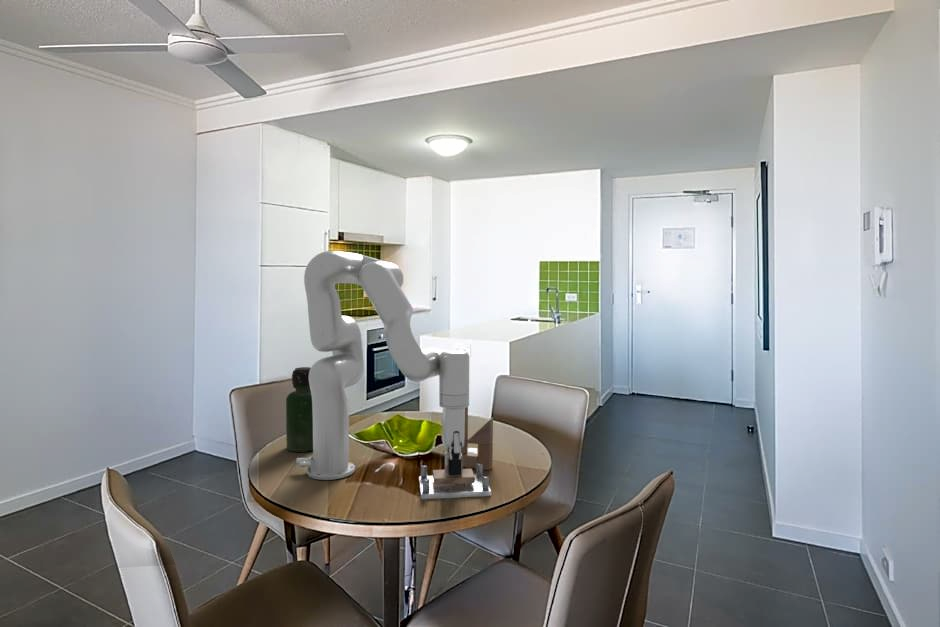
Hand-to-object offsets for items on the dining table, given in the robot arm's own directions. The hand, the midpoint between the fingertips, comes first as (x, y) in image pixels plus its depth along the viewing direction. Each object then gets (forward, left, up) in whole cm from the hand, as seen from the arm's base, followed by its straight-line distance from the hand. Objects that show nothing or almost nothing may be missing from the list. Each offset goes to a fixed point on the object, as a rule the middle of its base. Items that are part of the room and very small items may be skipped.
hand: (453, 470), depth 133 cm
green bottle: (-43, +38, -5) cm, 58 cm away
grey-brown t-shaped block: (0, 0, -2) cm, 2 cm away
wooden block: (+7, +15, -5) cm, 17 cm away
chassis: (0, 0, -4) cm, 4 cm away
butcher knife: (+7, +23, -5) cm, 25 cm away
